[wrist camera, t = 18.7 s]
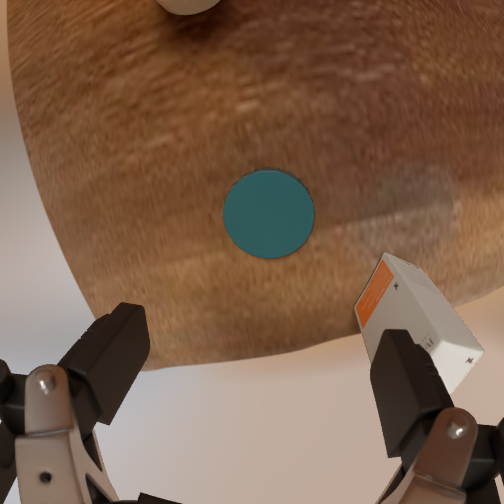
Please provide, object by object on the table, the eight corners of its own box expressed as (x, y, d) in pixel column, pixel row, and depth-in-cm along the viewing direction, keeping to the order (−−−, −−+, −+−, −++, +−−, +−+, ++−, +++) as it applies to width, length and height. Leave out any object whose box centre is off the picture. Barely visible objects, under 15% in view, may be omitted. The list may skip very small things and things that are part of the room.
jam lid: (225, 245, 25) (221, 254, 23) (229, 163, 22) (224, 166, 20) (307, 253, 24) (308, 263, 22) (317, 171, 22) (320, 174, 20)
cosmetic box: (382, 249, 23) (444, 337, 12) (420, 266, 24) (488, 350, 13) (350, 308, 26) (381, 413, 15) (388, 321, 26) (429, 419, 15)
